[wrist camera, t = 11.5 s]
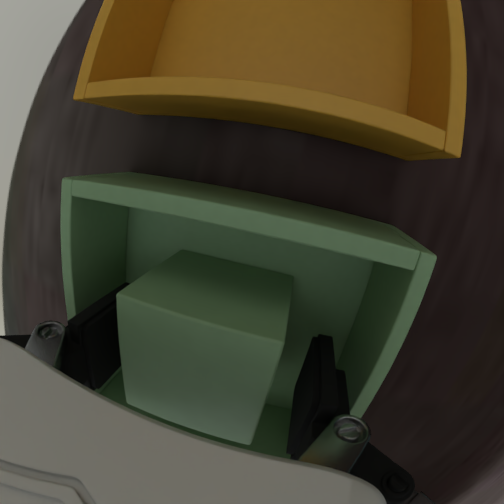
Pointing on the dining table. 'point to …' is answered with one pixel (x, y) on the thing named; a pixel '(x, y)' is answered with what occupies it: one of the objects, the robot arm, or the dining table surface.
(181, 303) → the green block
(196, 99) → the ochre bin
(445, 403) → the dining table surface
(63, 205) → the green bin
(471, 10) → the dining table surface
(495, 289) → the dining table surface
